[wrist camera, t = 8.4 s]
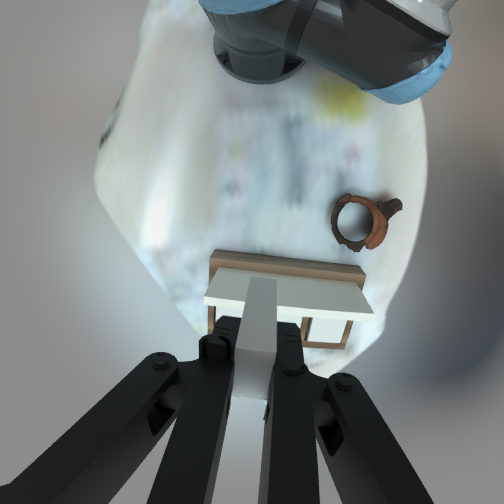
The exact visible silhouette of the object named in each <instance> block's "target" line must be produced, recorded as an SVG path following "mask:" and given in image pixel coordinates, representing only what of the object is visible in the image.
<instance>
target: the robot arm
mask: <svg viewBox="0 0 504 504" xmlns="http://www.w3.org/2000/svg"><path fill="white" fill-rule="evenodd" d="M457 1H458V0H199V4H200V5H201V6H202V7H203V9H204V11H205V13H206V14H207V16H208V18H209V20H210V21H211V23H212V25H213V27H214V29H215V30H216V32H215V35H214V41H213V46H214V52H215V55H216V57H217V59H218V61H219V63H220V64H221V66H222V67H223V68H224V69H225V70H226V71H227V72H228V73H229V74H230V75H232V76H233V77H235V78H237V79H239V80H242V81H244V82H248V83H253V84H270V83H276V82H279V81H282V80H285V79H287V78H289V77H291V76H292V75H294V74H295V73H296V72H297V71H299V70H300V68H301V67H302V66H303V65H304V63H305V61H306V60H308V61H311V62H313V63H315V64H317V65H319V66H321V67H323V68H325V69H327V70H329V71H331V72H333V73H335V74H337V75H339V76H341V77H343V78H345V79H347V80H348V81H350V82H352V83H354V84H355V85H357V87H358V88H359V89H360V90H362V91H364V92H368V93H371V94H373V95H374V96H376V97H378V98H380V99H381V100H383V101H385V102H387V103H390V104H397V105H400V104H405V103H409V102H411V101H414V100H416V99H417V98H419V97H421V96H422V95H424V94H425V93H426V92H428V91H429V90H430V89H431V88H432V87H433V86H434V85H435V84H436V83H437V82H438V81H439V80H440V79H441V77H442V72H443V71H445V70H446V69H448V67H449V65H450V63H451V60H452V48H451V46H450V44H449V42H448V40H447V39H448V38H449V37H450V35H451V34H452V32H453V31H452V27H451V23H450V19H449V11H450V10H451V8H452V7H453V6H454V5H455V4H456V2H457ZM231 396H237V397H244V398H253V399H262V400H267V406H266V410H265V415H264V419H263V420H265V425H264V439H263V450H262V462H261V463H262V464H261V474H260V485H259V496H258V504H320V497H319V480H318V463H317V449H316V439H317V441H318V444H319V446H320V449H321V451H322V454H323V456H324V459H325V461H326V464H327V466H328V469H329V471H330V474H331V476H332V479H333V481H334V484H335V486H336V489H337V491H338V494H339V496H340V499H341V501H342V504H434V503H433V501H432V499H431V497H430V496H429V494H428V492H427V490H426V489H425V487H424V485H423V484H422V482H421V480H420V479H419V477H418V475H417V473H416V472H415V470H414V469H413V467H412V465H411V463H410V462H409V460H408V458H407V457H406V455H405V453H404V452H403V450H402V449H401V447H400V445H399V444H398V442H397V441H396V439H395V437H394V435H393V434H392V432H391V431H390V429H389V427H388V426H387V424H386V423H385V421H384V419H383V418H382V416H381V414H380V413H379V411H378V410H377V408H376V407H375V405H374V403H373V402H372V400H371V399H370V397H369V395H368V394H367V392H366V391H365V389H364V387H363V386H362V384H361V383H360V381H359V380H358V379H357V378H356V377H354V376H352V375H351V374H348V373H335V374H333V375H331V376H330V377H329V379H327V378H323V377H320V376H317V375H315V374H313V373H311V372H310V371H309V369H308V367H307V366H306V365H305V364H304V356H303V347H302V338H301V330H300V328H299V327H298V326H297V324H296V323H290V322H280V321H277V279H271V278H262V277H253V276H251V278H250V282H249V287H248V292H247V296H246V301H245V305H244V310H243V314H242V318H240V317H232V316H225V315H223V316H221V317H220V318H219V319H218V320H217V321H216V323H215V326H214V329H213V332H212V334H207V335H205V336H203V337H202V338H201V339H200V340H199V358H198V359H196V360H193V361H186V362H178V361H177V359H176V358H175V356H173V355H171V354H169V353H166V352H156V353H152V354H150V355H149V356H147V357H146V358H145V359H144V360H143V361H142V362H141V363H139V364H138V365H137V366H136V367H135V368H134V369H133V370H132V371H131V372H130V373H129V374H128V375H127V376H126V377H125V378H123V379H122V380H121V381H120V382H119V383H118V384H117V385H116V386H115V387H114V388H113V389H112V390H111V391H110V392H108V393H107V394H106V395H105V396H104V397H103V398H102V399H101V400H100V401H99V402H98V403H97V404H96V405H94V406H93V407H92V408H91V409H90V410H89V411H88V412H87V413H86V414H85V415H84V416H83V417H81V418H80V419H79V420H78V421H77V422H76V423H75V424H74V425H73V426H72V427H71V428H70V429H69V430H67V431H66V432H65V433H64V434H63V435H62V436H61V437H60V438H59V439H58V440H57V441H56V442H54V443H53V444H52V445H51V446H50V447H49V448H48V449H47V450H46V451H45V452H44V453H43V454H42V455H40V456H39V457H38V458H37V459H36V460H35V461H34V462H33V463H32V464H31V465H30V466H28V467H27V468H26V469H25V470H24V471H23V472H22V473H21V474H20V475H19V476H18V477H16V478H15V479H14V480H13V481H12V482H11V483H10V484H6V485H3V486H0V504H108V503H109V502H110V501H111V500H112V498H113V497H114V496H115V495H116V494H117V492H118V491H119V490H120V489H121V488H122V486H123V485H124V484H125V483H126V481H127V480H128V479H129V478H130V477H131V475H132V474H133V473H134V472H135V470H136V469H137V468H138V467H139V465H140V464H141V463H142V462H143V460H144V459H145V458H146V457H147V455H148V454H149V453H150V451H151V450H152V449H153V447H154V446H155V445H156V444H157V442H158V441H159V440H160V438H161V437H162V436H163V435H164V433H165V432H166V430H167V429H168V428H169V427H170V425H171V424H172V423H173V421H174V420H175V419H176V418H177V419H176V422H175V424H174V427H173V430H172V433H171V435H170V439H169V441H168V444H167V447H166V449H165V452H164V455H163V458H162V461H161V464H160V466H159V469H158V472H157V475H156V478H155V480H154V483H153V486H152V489H151V492H150V495H149V498H148V501H147V504H211V501H212V497H213V491H214V486H215V481H216V476H217V471H218V466H219V461H220V456H221V451H222V445H223V441H224V436H225V430H226V425H227V419H228V415H229V409H230V403H231V402H230V401H231ZM267 397H268V399H267Z"/></svg>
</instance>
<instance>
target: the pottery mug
mask: <svg viewBox="0 0 504 504" xmlns="http://www.w3.org/2000/svg"><path fill="white" fill-rule="evenodd" d="M349 202H352V203H361V204H363V205H365V206H366V207H367V208H368V209H369V210H370V211H371V213H372V216H373V227H372V230H371V232H370V234H369V235H368V236H367V237H366V238H365V239H363V240H361V241H358V242H353V241H349V240H347V239H345V238H344V237H343V236H342V235H341V233H340V232H339V229H338V226H337V220H338V215H339V213H340V211H341V210H342V208H343V207H344V206H345V204H347V203H349ZM377 207H378V208H376V207H375V202H374V201H372V200H370V199H368V198H365V197H361V196H356V195H355V196H351V194H348V195H346V196H344V197H343V198H341V199H340V201H338V202H337V203H336V205H335V207H334V210H333V212H332V216H331V224H332V231H333V234H334V236H335V238H336V240H337V242H338V243H339V244H345V245H347V247H348V248H349V249H350V250H352V251H353V252H360V250H361V249H362V247H363V246H364V245H365V244H367V246H366V249H369V250H370V249H374V248H376V247H377V246H379V245H380V244H381V243H382V241H383V240H384V238H385V236H386V233H387V230H388V220H389V219H390V218H391V217H392V216H393V215H394V214H395V213H396V212H398V211H400V210H402V202H401V201H400V200H399V199H397V198H394V199H392V200H389V201H387V202H384V203H382V202H380V201H378V203H377Z"/></svg>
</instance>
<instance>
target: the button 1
mask: <svg viewBox="0 0 504 504" xmlns="http://www.w3.org/2000/svg"><path fill="white" fill-rule="evenodd" d="M242 314H243V310H239V309H232V308H224V307H217V306H216V321H217V320H218V319H219V318H220V317H221V316H223V315H225V316H232V317H240V318H242Z"/></svg>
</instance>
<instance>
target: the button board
mask: <svg viewBox="0 0 504 504" xmlns="http://www.w3.org/2000/svg"><path fill="white" fill-rule="evenodd" d="M219 267H224V268H232V269H240V270H248V271H257V272H265V273H274V274H283V275H292V276H301V277H310V278H319V279H329V280H338V281H348V282H356V283H357V285H358V287H359V288H360V290H361V292H362V289H363V286H364V282H365V278H366V274H365V273H364V272H363V270H362V269H361V267H360V266H353V265H345V264H336V263H327V262H319V261H310V260H301V259H293V258H284V257H275V256H267V255H258V254H250V253H241V252H232V251H224V250H215V251H214V252H213V254H212V255H211V257H210V268H209V285H210V283H211V281H212V279H213V277H214V275H215V273H216V271H217V270H218V268H219ZM309 318H310V317H302V322H301V327H300V330H301V338H302V347H309V348H324V349H345V346H346V343H347V340H348V337H349V334H350V330H351V327H352V324H353V320H347V323H346V326H345V329H344V332H343V336H342V339H341V342H340V343H328V342H313V341H307V335H306V331H307V327H308V322H309ZM215 323H216V306H210V305H208V334H212V332H213V329H214V326H215Z"/></svg>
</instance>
